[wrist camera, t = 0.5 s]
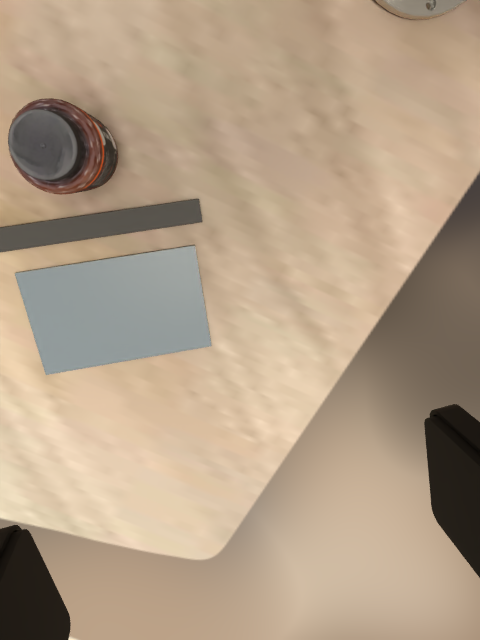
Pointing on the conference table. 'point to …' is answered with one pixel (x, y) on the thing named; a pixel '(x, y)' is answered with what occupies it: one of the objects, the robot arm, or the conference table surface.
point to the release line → (99, 225)
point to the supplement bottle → (61, 147)
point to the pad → (116, 309)
